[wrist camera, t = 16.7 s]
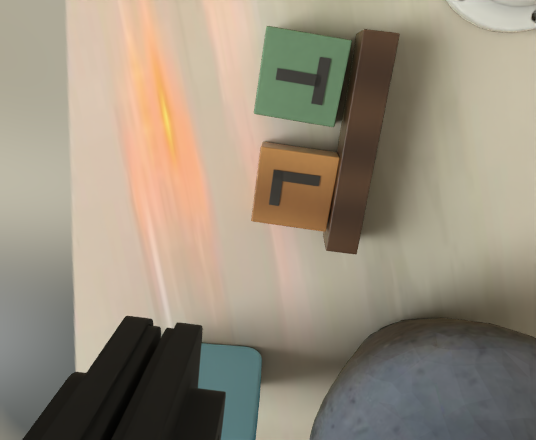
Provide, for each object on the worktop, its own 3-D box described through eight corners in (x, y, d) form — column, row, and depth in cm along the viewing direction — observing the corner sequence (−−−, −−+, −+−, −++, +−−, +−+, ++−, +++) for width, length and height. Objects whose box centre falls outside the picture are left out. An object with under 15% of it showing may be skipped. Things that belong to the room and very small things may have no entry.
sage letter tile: (268, 29, 32) (266, 25, 30) (347, 42, 32) (352, 40, 30) (256, 111, 34) (253, 113, 32) (331, 123, 34) (334, 127, 32)
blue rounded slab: (139, 376, 43) (84, 485, 31) (137, 337, 41) (79, 436, 30) (260, 386, 42) (249, 500, 31) (263, 346, 41) (252, 451, 30)
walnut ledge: (356, 33, 32) (363, 29, 29) (388, 37, 32) (400, 33, 29) (322, 235, 37) (326, 250, 34) (350, 238, 37) (356, 254, 34)
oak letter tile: (262, 141, 35) (260, 146, 32) (336, 152, 35) (340, 157, 32) (253, 211, 37) (250, 221, 34) (323, 222, 37) (326, 232, 34)
